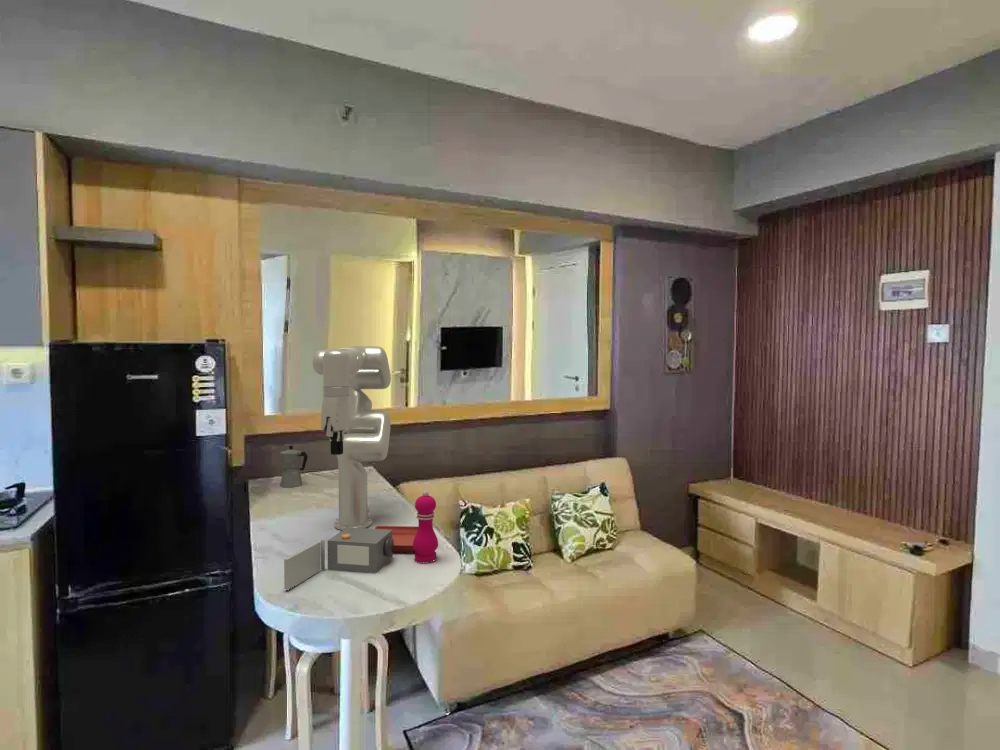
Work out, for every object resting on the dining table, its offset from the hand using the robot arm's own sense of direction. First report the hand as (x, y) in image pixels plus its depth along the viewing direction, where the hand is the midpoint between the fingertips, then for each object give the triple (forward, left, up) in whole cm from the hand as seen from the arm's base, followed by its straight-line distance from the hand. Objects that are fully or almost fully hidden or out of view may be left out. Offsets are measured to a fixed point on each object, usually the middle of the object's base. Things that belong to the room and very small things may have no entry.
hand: (336, 454), depth 164 cm
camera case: (+8, +11, -29) cm, 32 cm away
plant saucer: (-9, +16, -30) cm, 35 cm away
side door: (+22, +2, -29) cm, 36 cm away
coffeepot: (-73, -57, -29) cm, 97 cm away
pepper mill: (+2, +28, -29) cm, 41 cm away
